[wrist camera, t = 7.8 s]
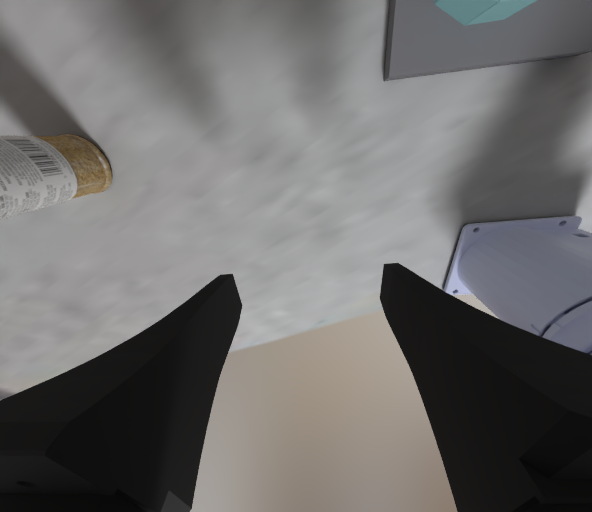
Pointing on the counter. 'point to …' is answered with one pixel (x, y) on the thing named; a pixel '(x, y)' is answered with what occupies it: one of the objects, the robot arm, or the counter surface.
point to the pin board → (482, 37)
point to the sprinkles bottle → (48, 171)
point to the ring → (481, 9)
